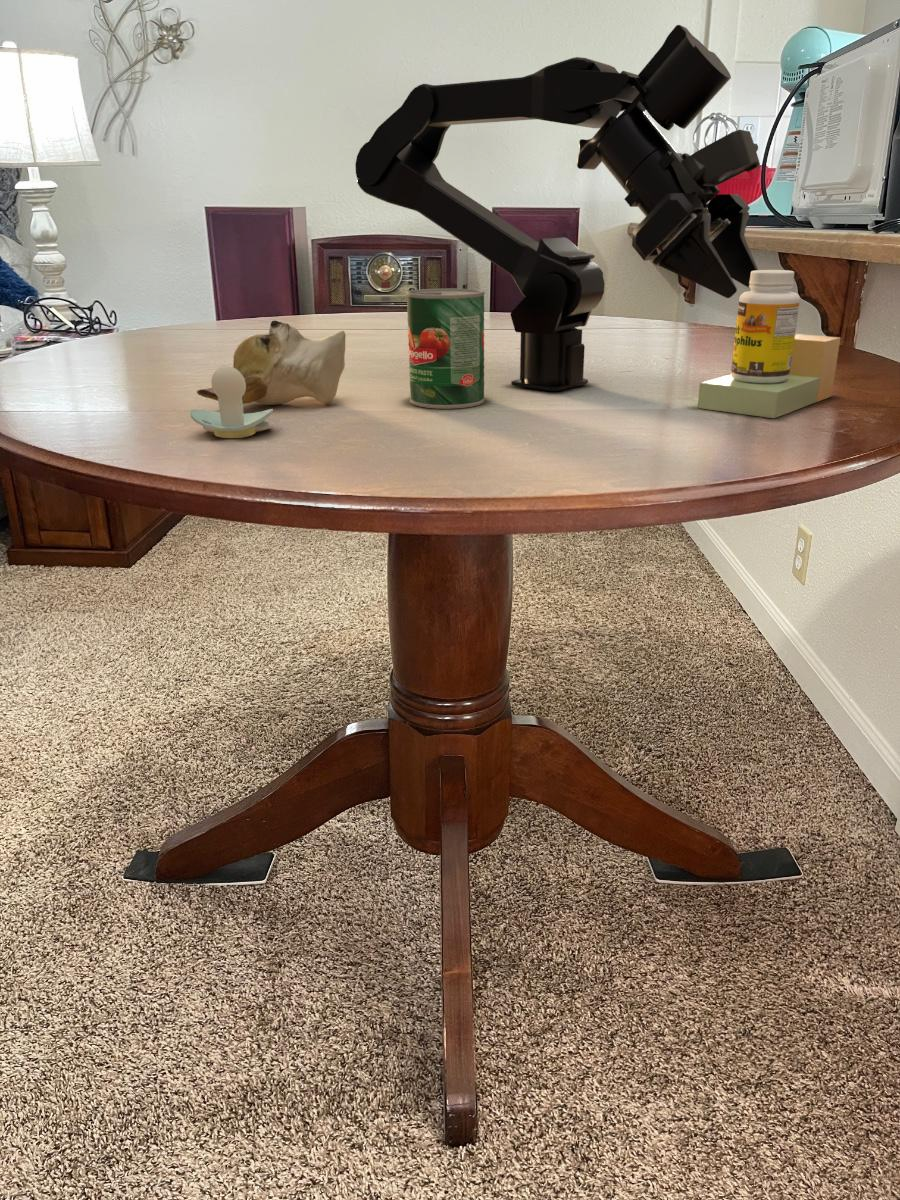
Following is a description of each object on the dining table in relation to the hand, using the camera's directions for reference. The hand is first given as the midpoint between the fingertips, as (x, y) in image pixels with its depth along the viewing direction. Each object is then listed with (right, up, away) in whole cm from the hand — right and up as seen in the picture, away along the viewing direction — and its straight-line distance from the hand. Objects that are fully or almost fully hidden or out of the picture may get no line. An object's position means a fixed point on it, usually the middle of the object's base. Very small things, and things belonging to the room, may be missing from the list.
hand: (746, 290), depth 86 cm
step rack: (+4, -10, +5) cm, 12 cm away
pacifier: (-48, -15, -5) cm, 51 cm away
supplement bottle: (+2, -8, +2) cm, 9 cm away
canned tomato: (-29, -9, +7) cm, 31 cm away
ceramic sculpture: (-47, -10, +7) cm, 48 cm away
